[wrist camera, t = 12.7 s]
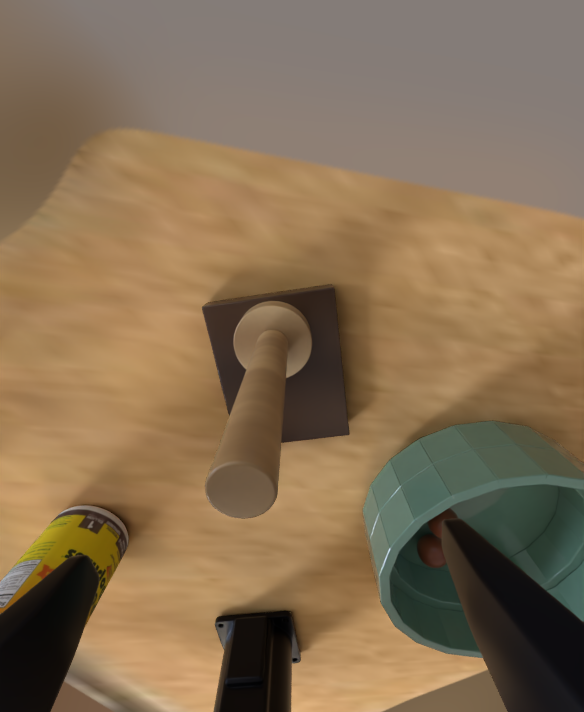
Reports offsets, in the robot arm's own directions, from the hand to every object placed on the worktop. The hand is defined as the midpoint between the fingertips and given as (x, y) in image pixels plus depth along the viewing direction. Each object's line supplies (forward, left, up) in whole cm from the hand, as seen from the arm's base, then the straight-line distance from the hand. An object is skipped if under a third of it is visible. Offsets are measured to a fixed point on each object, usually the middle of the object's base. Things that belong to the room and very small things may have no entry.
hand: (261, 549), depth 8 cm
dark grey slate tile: (0, 0, -12) cm, 12 cm away
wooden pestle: (+2, 0, -11) cm, 11 cm away
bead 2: (-14, -8, -10) cm, 19 cm away
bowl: (-12, -11, -12) cm, 20 cm away
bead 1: (-12, -9, -10) cm, 18 cm away
